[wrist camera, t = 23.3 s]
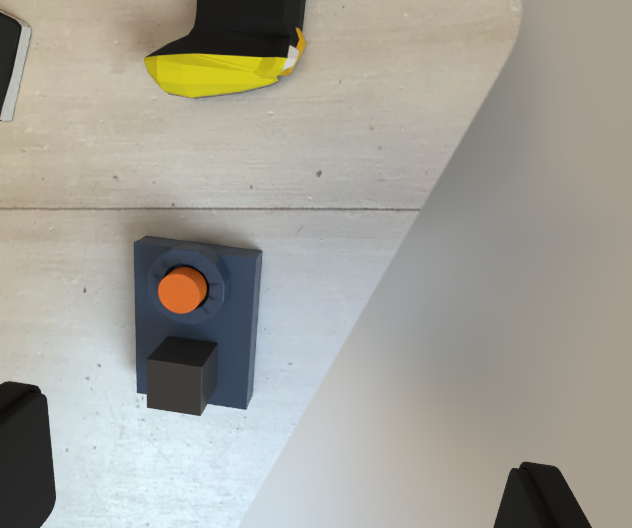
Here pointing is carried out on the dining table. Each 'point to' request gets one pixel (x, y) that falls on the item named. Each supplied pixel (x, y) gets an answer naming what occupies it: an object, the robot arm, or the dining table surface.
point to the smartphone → (11, 61)
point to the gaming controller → (231, 48)
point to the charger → (182, 375)
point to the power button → (182, 290)
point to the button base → (201, 310)
